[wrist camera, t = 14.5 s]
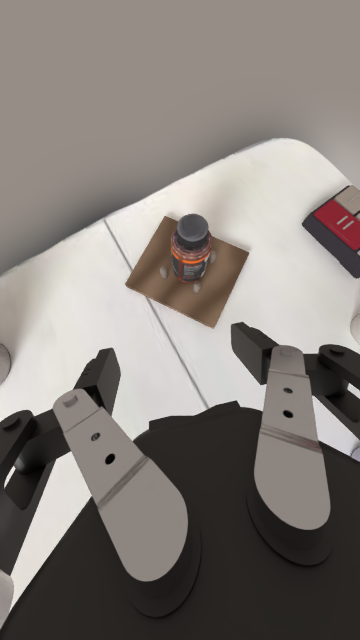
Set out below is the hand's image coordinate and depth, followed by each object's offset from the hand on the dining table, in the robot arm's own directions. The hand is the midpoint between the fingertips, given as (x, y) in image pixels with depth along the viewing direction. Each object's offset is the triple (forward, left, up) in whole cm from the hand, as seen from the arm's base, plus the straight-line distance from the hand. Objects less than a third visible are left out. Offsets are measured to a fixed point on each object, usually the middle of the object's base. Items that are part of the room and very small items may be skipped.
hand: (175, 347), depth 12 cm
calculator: (+20, +35, -21) cm, 46 cm away
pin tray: (-5, +14, -20) cm, 25 cm away
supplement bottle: (-5, +14, -19) cm, 25 cm away
